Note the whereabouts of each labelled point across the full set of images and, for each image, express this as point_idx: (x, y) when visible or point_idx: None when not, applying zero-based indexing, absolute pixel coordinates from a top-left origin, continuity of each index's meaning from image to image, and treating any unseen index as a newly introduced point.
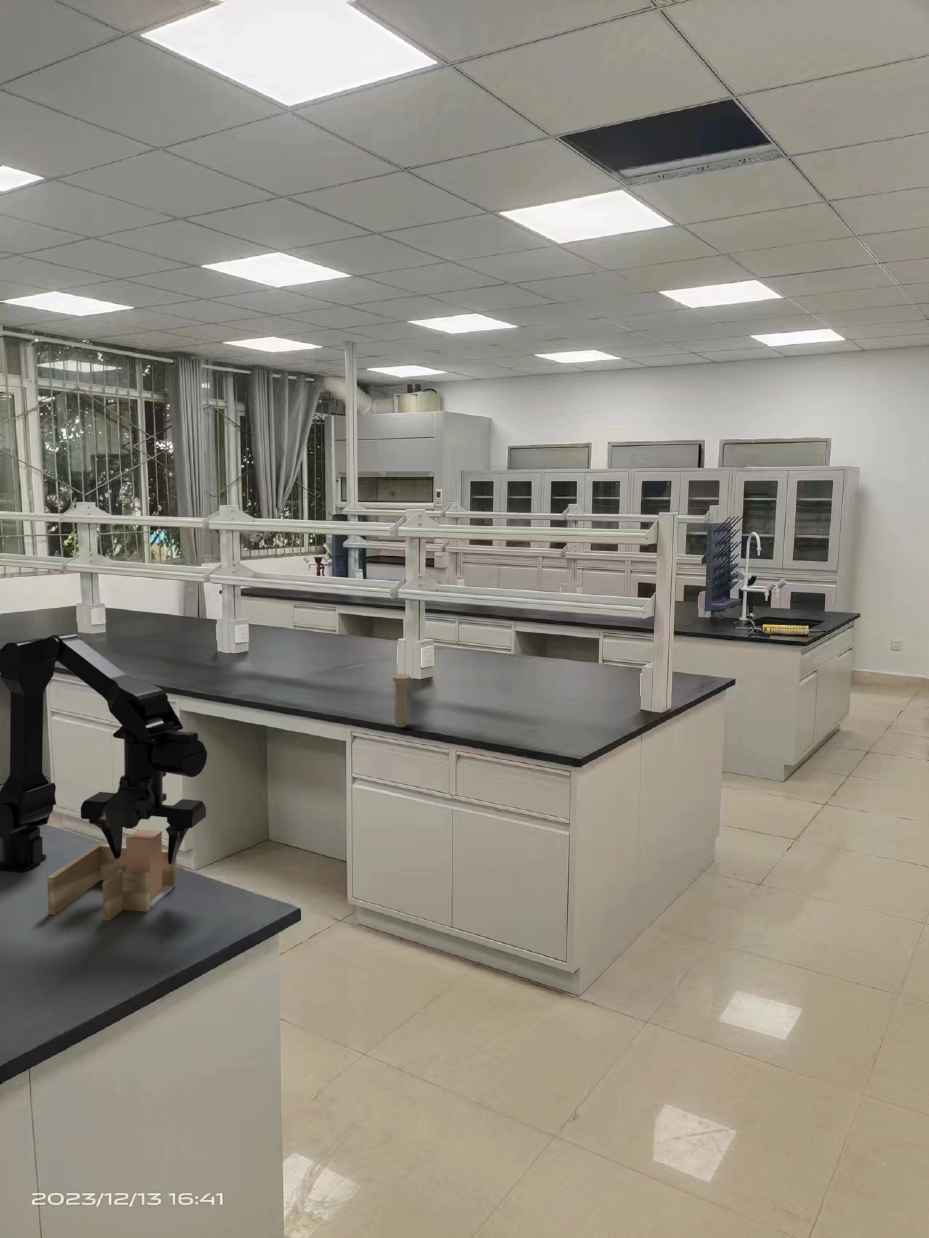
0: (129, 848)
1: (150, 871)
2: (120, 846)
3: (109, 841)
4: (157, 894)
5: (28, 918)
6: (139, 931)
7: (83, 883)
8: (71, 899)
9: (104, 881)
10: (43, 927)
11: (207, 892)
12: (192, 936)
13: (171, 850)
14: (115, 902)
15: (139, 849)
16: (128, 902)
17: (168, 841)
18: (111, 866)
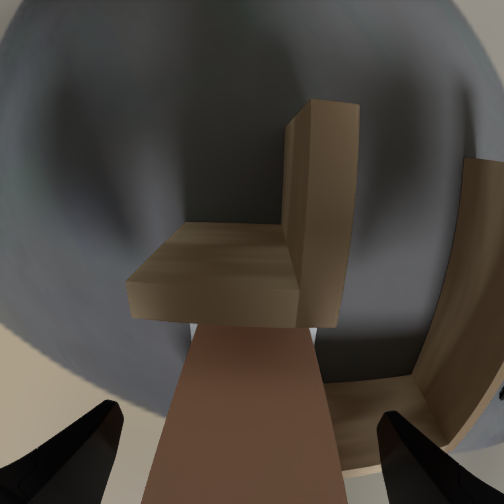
0: (314, 469)
1: (185, 365)
2: (386, 466)
3: (448, 466)
4: None
5: (500, 138)
6: (143, 86)
7: (451, 319)
8: (457, 248)
9: (358, 128)
10: (452, 81)
11: (102, 358)
12: (18, 122)
13: (61, 441)
14: (288, 176)
15: (233, 469)
16: (258, 231)
17: (47, 481)
18: (398, 408)
